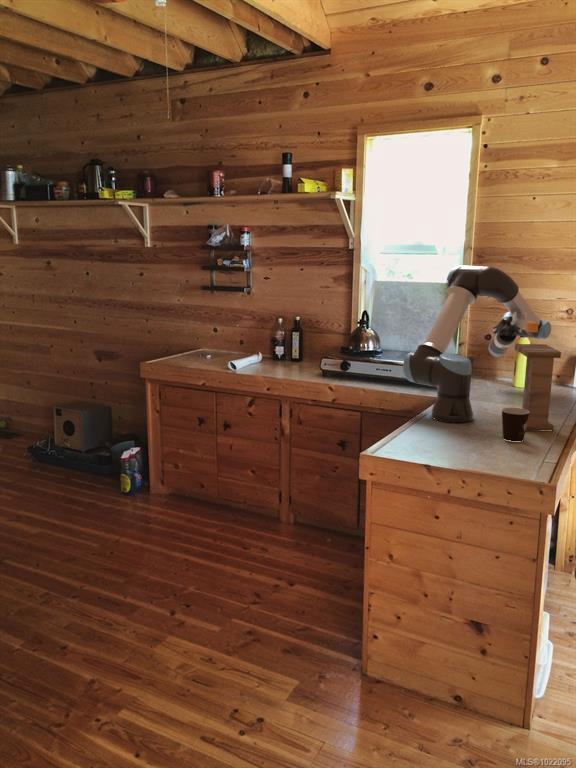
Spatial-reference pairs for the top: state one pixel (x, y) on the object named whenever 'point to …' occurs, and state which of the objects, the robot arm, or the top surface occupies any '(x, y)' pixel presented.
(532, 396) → the shelf post
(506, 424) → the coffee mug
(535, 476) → the top surface
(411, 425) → the top surface
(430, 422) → the top surface
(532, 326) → the clear orange-capped tube
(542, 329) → the robot arm
